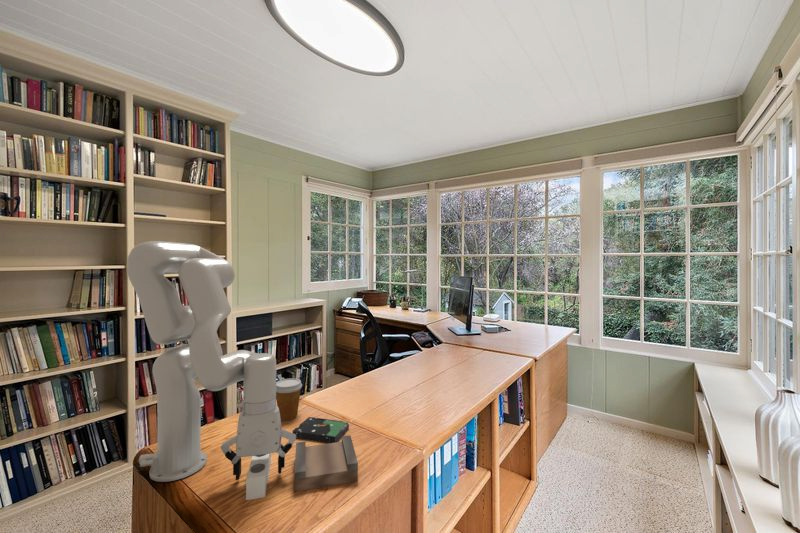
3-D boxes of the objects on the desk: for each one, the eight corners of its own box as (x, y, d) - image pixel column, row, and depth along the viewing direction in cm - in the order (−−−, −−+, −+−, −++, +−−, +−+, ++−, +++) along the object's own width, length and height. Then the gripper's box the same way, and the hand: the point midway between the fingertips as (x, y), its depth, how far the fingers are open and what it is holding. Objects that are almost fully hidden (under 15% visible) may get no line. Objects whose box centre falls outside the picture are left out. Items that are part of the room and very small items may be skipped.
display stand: (294, 491, 78) (294, 472, 78) (296, 458, 92) (296, 442, 92) (357, 481, 82) (357, 462, 82) (350, 450, 96) (350, 435, 96)
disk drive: (291, 440, 103) (336, 445, 99) (291, 431, 103) (336, 436, 99) (308, 424, 113) (349, 429, 109) (308, 416, 113) (349, 420, 109)
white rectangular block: (246, 501, 75) (246, 477, 75) (254, 465, 89) (255, 445, 89) (264, 498, 76) (265, 474, 76) (270, 463, 90) (271, 443, 90)
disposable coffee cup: (277, 411, 122) (277, 378, 122) (304, 410, 123) (304, 377, 123) (270, 423, 112) (270, 387, 112) (299, 422, 113) (299, 386, 113)
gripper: (217, 415, 77) (217, 489, 77) (295, 407, 81) (295, 477, 81) (225, 402, 84) (224, 470, 84) (296, 395, 89) (296, 459, 89)
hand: (259, 473), depth 83 cm, fingers open, 9 cm apart
